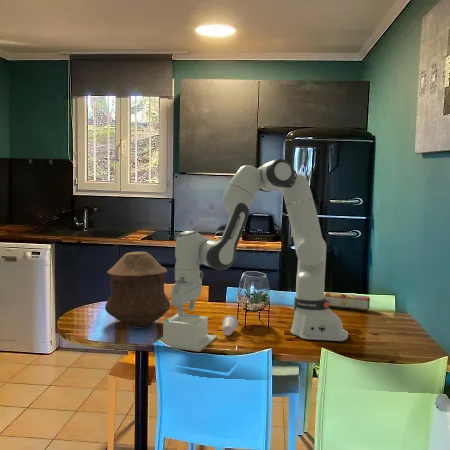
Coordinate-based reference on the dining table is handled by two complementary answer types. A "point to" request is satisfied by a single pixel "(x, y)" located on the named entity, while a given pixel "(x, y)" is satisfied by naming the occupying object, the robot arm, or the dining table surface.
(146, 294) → the pottery vessel
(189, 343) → the socket dock
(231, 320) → the smoothie
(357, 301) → the snack package
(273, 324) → the dining table surface
